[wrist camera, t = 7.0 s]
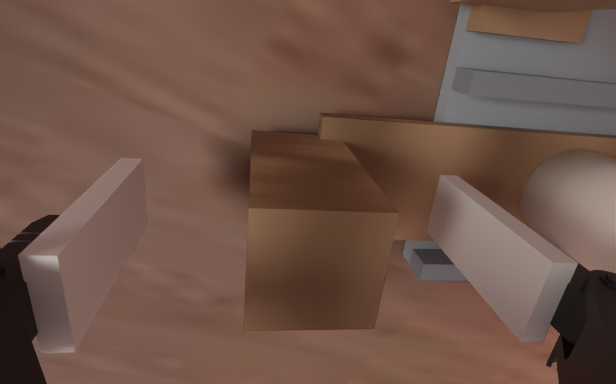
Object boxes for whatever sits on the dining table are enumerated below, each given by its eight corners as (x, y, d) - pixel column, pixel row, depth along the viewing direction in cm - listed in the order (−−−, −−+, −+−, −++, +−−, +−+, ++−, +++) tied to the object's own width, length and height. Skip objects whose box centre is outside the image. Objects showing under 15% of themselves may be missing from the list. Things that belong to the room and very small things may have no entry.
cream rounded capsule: (507, 233, 20) (604, 310, 14) (538, 145, 18) (662, 196, 12) (586, 234, 20) (706, 309, 15) (623, 151, 19) (775, 201, 13)
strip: (247, 228, 19) (242, 356, 11) (252, 107, 16) (250, 170, 9) (580, 237, 22) (745, 343, 14) (625, 136, 19) (849, 201, 12)
